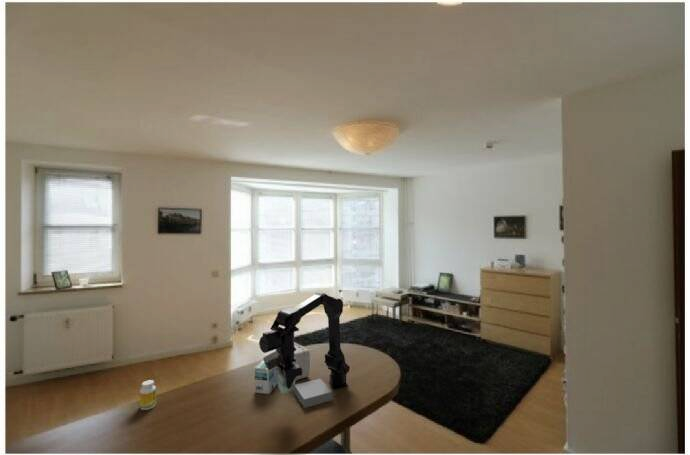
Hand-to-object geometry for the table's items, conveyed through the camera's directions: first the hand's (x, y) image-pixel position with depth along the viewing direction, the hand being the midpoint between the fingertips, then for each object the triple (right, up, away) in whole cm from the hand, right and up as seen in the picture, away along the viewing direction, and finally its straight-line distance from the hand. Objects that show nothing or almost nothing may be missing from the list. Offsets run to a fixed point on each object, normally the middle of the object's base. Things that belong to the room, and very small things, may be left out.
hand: (286, 385), depth 123 cm
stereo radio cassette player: (-4, -10, +33) cm, 35 cm away
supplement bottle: (-55, -11, +4) cm, 56 cm away
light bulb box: (-12, -10, +19) cm, 25 cm away
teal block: (0, -2, 0) cm, 2 cm away
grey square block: (+9, -11, +12) cm, 18 cm away
